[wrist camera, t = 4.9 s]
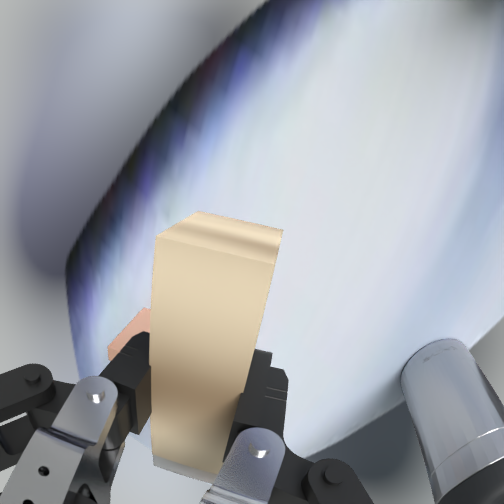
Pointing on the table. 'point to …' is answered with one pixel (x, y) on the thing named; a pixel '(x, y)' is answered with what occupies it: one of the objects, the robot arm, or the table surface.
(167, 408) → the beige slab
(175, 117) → the table surface
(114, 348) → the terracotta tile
